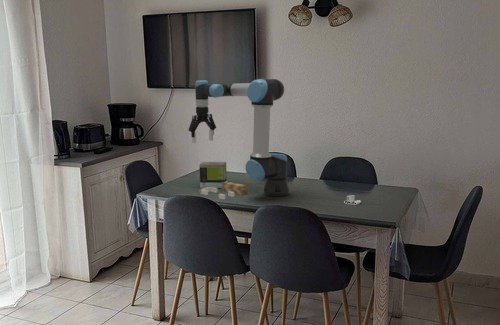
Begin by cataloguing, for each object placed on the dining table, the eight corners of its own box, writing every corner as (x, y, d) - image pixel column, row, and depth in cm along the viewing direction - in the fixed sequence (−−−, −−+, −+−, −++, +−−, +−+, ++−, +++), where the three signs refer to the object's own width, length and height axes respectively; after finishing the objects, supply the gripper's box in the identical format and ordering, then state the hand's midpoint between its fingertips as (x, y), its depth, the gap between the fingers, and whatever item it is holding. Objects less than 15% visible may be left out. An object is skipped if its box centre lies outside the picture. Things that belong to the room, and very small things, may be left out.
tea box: (227, 184, 304) (226, 161, 301) (224, 188, 294) (224, 164, 291) (202, 184, 305) (202, 160, 302) (199, 188, 295) (199, 164, 293)
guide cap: (234, 196, 275) (234, 192, 274) (223, 199, 269) (223, 195, 268) (229, 195, 278) (229, 191, 277) (218, 198, 272) (218, 194, 271)
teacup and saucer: (363, 204, 261) (363, 196, 260) (352, 206, 257) (352, 198, 256) (351, 200, 268) (351, 193, 268) (340, 202, 264) (340, 195, 263)
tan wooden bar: (246, 194, 282) (246, 185, 281) (242, 195, 279) (242, 186, 278) (227, 189, 293) (227, 181, 292) (222, 190, 290) (222, 182, 289)
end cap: (217, 192, 284) (217, 188, 284) (206, 195, 278) (206, 191, 278) (210, 190, 288) (210, 186, 288) (199, 193, 282) (199, 189, 282)
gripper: (213, 105, 307) (213, 138, 311) (181, 107, 290) (182, 143, 294) (221, 105, 302) (222, 139, 306) (190, 108, 285) (191, 144, 288)
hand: (202, 141), depth 300 cm, fingers open, 13 cm apart
